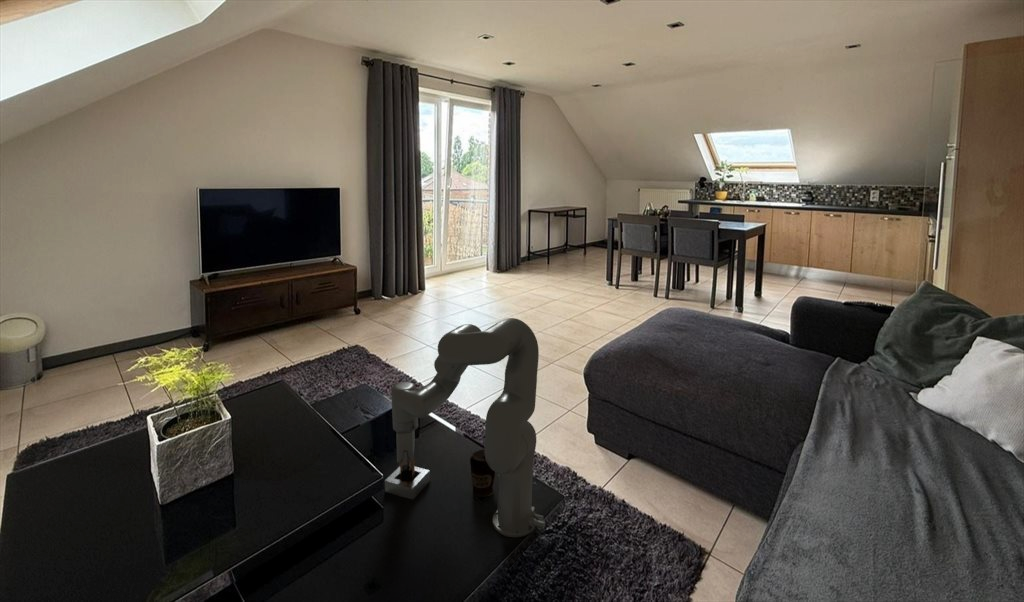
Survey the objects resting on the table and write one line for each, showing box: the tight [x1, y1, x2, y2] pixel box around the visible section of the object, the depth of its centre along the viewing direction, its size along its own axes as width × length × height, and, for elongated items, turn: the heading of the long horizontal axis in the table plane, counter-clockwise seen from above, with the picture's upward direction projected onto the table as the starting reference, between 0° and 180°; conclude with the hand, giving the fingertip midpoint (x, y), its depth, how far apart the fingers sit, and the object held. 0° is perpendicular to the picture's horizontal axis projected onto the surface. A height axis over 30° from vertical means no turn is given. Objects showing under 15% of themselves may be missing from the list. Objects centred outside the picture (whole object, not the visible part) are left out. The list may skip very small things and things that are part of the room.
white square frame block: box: [384, 465, 431, 501], centre depth 155 cm, size 10×10×4 cm
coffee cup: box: [469, 449, 496, 498], centre depth 152 cm, size 9×8×13 cm
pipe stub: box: [398, 457, 416, 483], centre depth 154 cm, size 5×5×9 cm
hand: (408, 471), depth 154 cm, fingers open, 9 cm apart
